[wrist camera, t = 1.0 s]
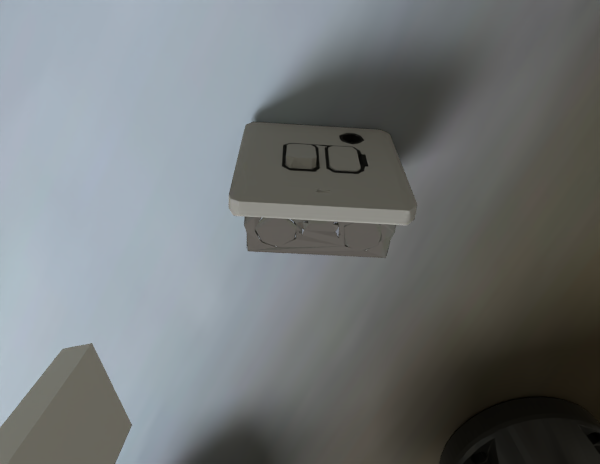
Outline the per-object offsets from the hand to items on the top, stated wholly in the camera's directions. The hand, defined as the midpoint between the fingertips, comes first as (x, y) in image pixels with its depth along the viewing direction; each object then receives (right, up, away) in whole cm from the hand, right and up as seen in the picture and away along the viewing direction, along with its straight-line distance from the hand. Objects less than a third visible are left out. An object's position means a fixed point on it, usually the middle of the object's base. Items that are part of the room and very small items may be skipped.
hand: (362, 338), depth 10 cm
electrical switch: (0, +7, +18) cm, 20 cm away
